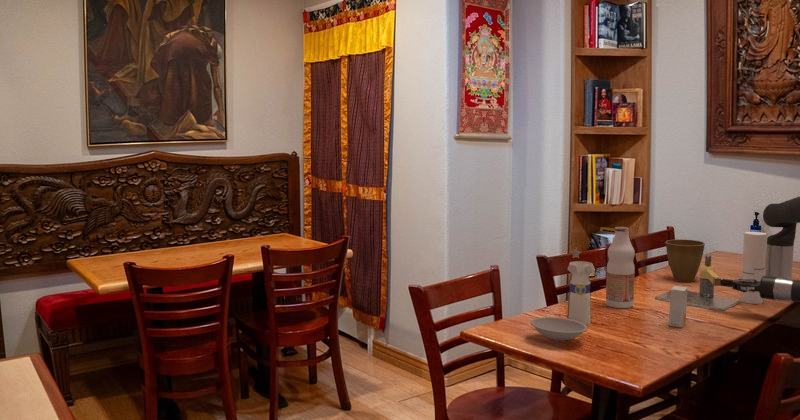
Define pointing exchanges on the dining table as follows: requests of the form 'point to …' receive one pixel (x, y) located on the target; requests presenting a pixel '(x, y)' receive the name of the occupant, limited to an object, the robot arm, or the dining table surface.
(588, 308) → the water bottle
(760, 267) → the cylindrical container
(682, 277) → the plant pot
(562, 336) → the dish
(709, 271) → the lever handle
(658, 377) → the dining table surface
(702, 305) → the square base plate stand
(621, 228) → the fruit juice
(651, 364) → the dining table surface
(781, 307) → the dining table surface
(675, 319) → the skincare box
